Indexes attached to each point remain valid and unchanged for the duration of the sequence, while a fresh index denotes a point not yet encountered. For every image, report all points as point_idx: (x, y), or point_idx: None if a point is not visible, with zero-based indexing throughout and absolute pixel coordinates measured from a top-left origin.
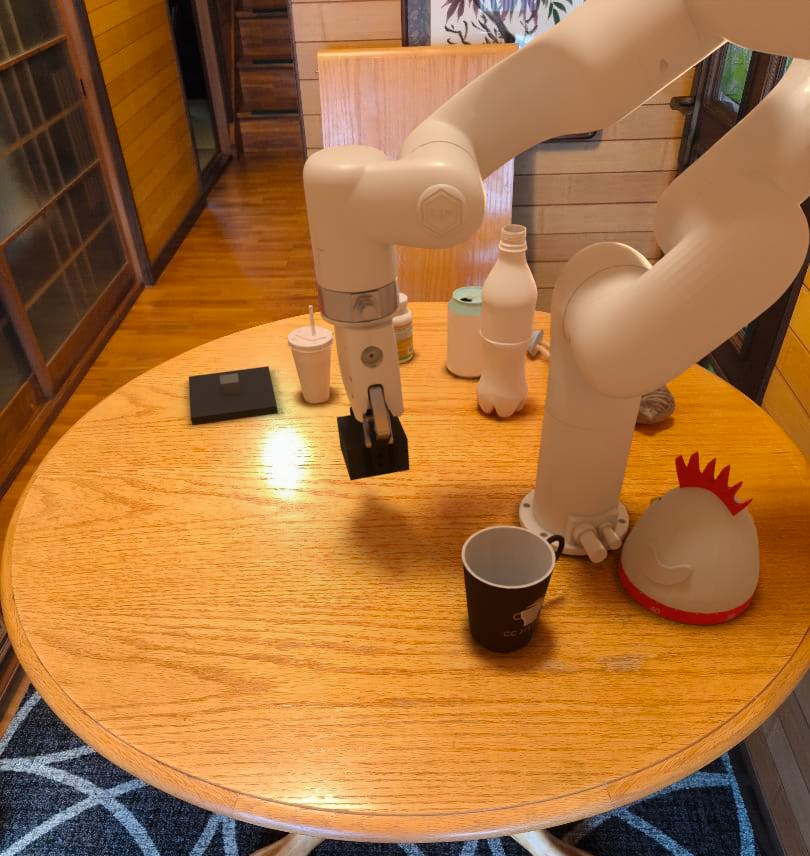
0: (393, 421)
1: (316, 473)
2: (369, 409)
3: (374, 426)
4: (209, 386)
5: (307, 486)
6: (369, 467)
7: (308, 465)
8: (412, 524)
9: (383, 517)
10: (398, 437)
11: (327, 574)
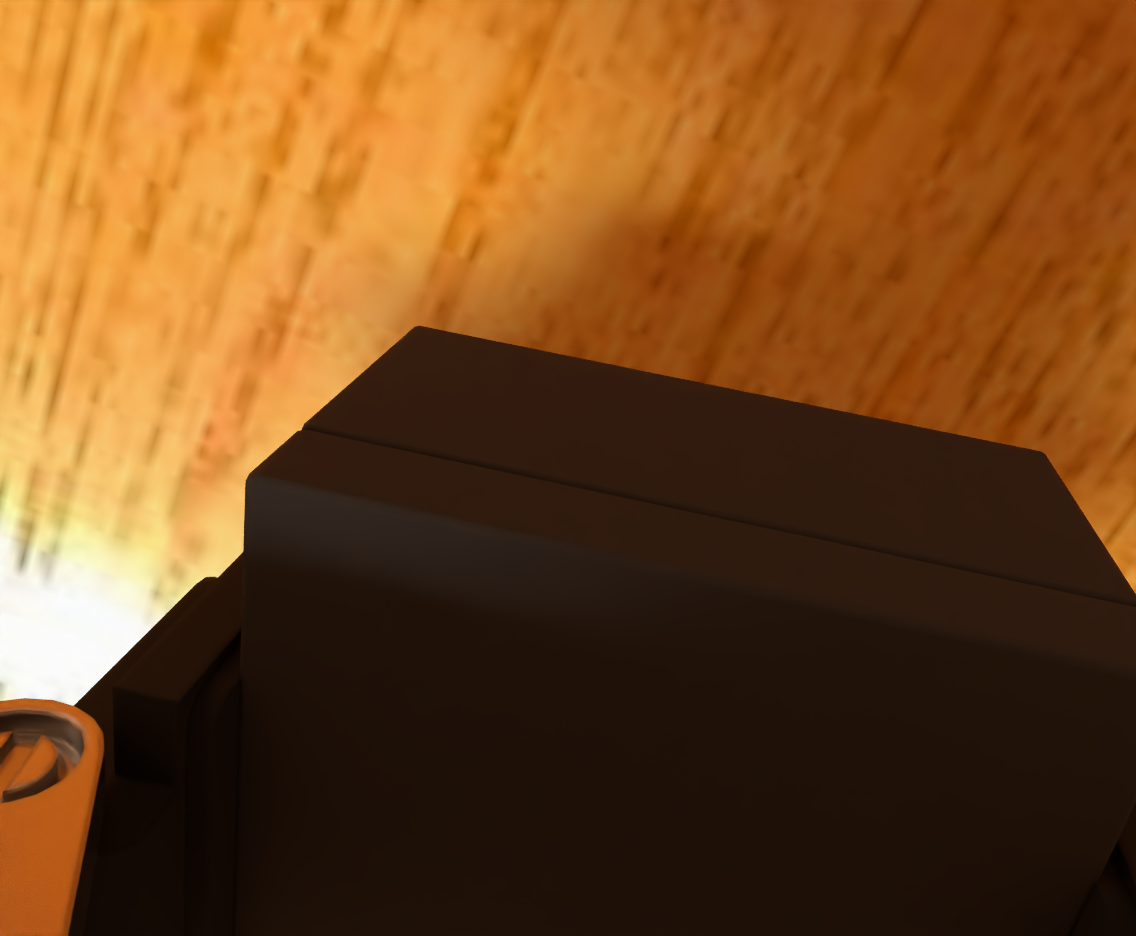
0: (613, 644)
1: (112, 513)
2: (222, 809)
3: (613, 889)
4: None
5: None
6: None
7: (31, 525)
8: (777, 195)
9: (632, 333)
10: (1074, 775)
11: None
